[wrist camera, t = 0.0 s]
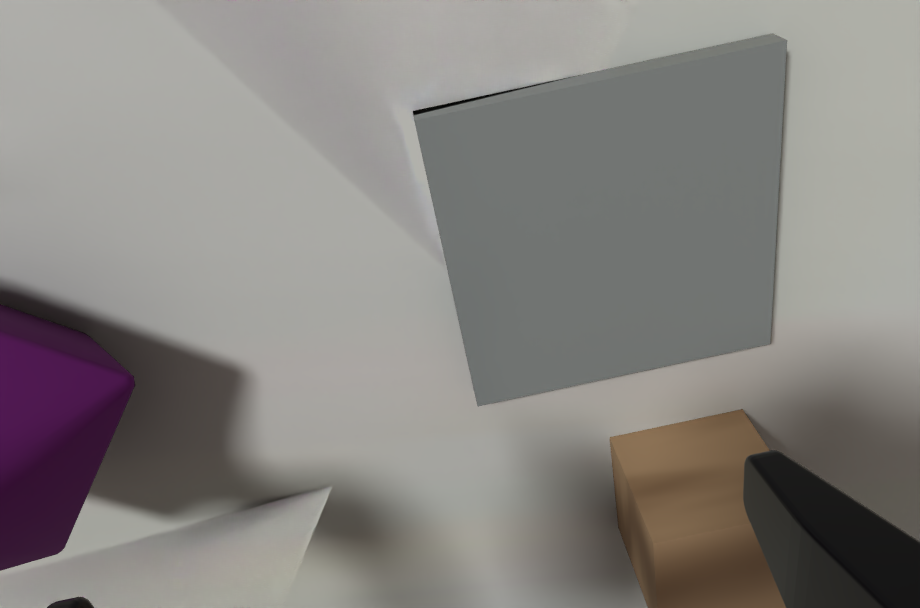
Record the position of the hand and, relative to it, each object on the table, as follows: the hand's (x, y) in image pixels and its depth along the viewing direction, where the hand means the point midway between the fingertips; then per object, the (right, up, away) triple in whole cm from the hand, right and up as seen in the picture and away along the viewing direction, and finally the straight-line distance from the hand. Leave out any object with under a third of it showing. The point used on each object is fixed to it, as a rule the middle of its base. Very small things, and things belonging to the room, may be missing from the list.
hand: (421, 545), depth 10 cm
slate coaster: (+5, +5, +13) cm, 15 cm away
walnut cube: (+9, -3, +19) cm, 21 cm away
